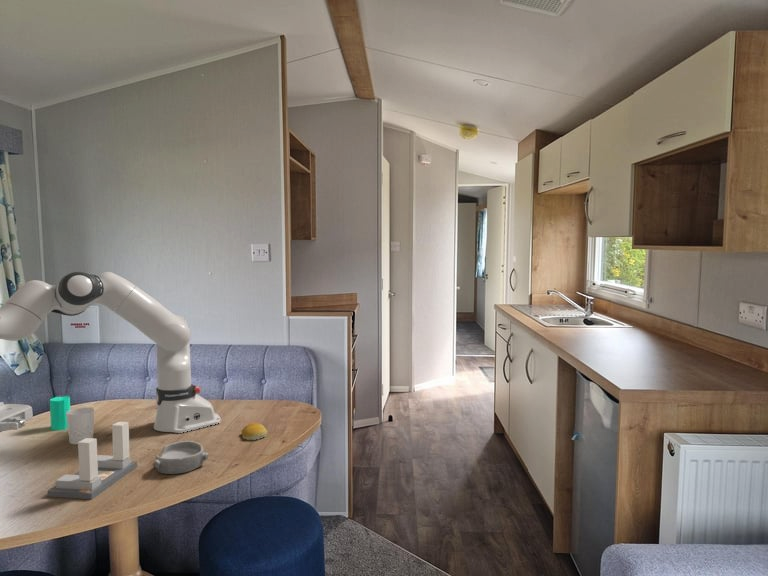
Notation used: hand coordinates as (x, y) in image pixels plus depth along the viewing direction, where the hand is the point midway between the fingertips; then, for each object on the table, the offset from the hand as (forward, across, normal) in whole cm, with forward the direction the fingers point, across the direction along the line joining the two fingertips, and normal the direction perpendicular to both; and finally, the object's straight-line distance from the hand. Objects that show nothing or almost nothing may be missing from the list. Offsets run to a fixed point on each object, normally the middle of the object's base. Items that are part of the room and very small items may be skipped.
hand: (21, 424), depth 137 cm
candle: (-23, +43, +18) cm, 52 cm away
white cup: (-8, +32, +18) cm, 38 cm away
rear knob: (+19, +13, +14) cm, 27 cm away
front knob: (+18, 0, +14) cm, 23 cm away
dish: (+34, +19, +18) cm, 43 cm away
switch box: (+15, +6, +17) cm, 24 cm away
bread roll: (+46, +44, +19) cm, 67 cm away
